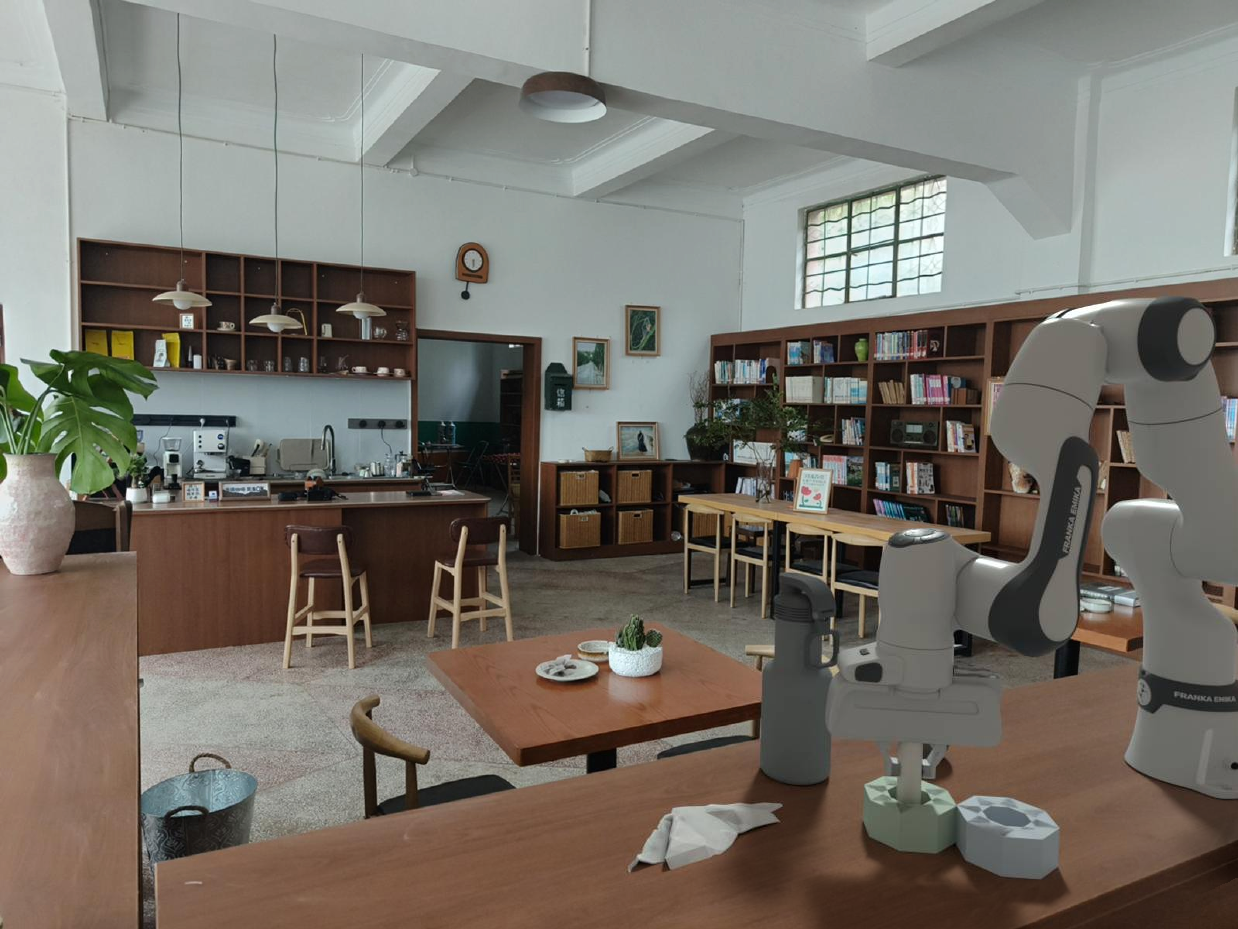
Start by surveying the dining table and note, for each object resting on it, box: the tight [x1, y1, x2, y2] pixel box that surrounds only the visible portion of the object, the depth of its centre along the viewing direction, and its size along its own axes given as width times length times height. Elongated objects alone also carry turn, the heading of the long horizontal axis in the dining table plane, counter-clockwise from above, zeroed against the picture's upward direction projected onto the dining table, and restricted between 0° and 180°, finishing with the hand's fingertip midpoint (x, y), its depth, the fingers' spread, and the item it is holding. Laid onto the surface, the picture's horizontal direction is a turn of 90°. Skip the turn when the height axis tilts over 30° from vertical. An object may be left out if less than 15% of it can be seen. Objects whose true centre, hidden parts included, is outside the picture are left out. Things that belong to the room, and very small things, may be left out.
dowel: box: [896, 742, 923, 805], centre depth 100 cm, size 3×3×12 cm
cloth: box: [627, 802, 783, 874], centre depth 100 cm, size 26×14×2 cm, turn 117°
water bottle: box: [759, 571, 841, 786], centre depth 116 cm, size 10×10×28 cm
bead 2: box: [954, 795, 1061, 880], centre depth 96 cm, size 10×10×4 cm
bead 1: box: [862, 775, 958, 855], centre depth 101 cm, size 10×10×4 cm
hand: (909, 775), depth 100 cm, fingers closed on dowel, 3 cm apart
